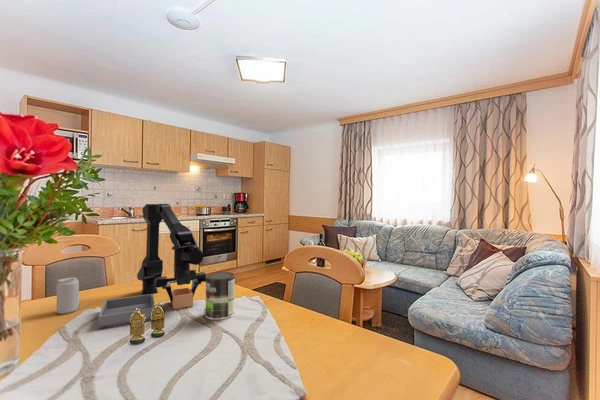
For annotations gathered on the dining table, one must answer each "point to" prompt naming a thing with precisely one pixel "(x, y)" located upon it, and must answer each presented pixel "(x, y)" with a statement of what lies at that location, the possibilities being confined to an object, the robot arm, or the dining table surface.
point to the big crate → (124, 310)
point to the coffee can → (220, 295)
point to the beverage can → (67, 295)
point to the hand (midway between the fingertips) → (181, 301)
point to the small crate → (182, 298)
